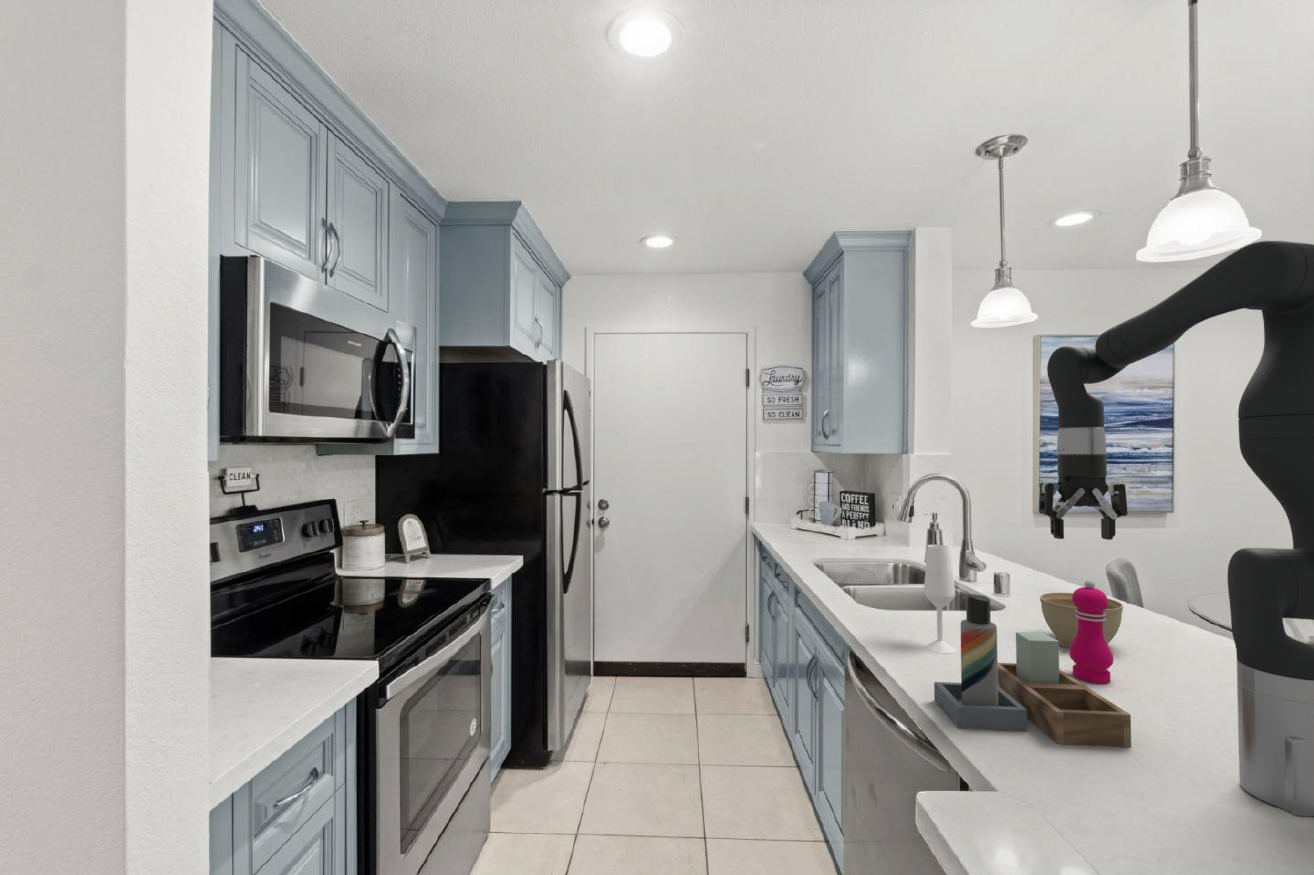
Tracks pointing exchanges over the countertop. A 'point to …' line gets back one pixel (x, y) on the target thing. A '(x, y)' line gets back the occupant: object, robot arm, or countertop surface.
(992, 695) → the lotion bottle
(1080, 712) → the frame
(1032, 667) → the grey-green block
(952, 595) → the champagne flute
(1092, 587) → the pepper mill
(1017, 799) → the countertop surface
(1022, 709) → the tray
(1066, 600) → the planter bowl
